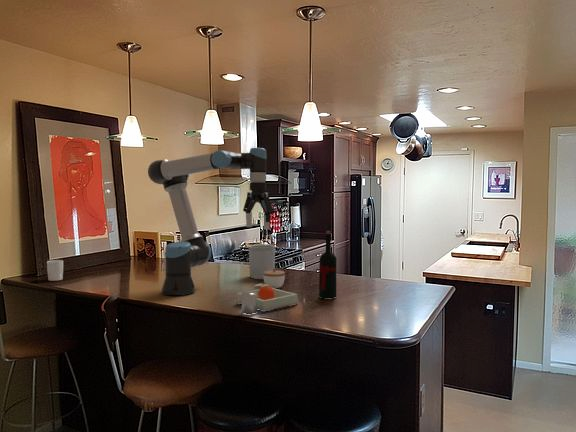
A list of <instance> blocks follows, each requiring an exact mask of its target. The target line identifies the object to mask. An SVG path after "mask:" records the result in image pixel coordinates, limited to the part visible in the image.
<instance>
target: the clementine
mask: <svg viewBox="0 0 576 432" xmlns="http://www.w3.org/2000/svg"><path fill="white" fill-rule="evenodd" d="M274 295H275V293H274V290H273V289H272V288H271V287H270V286H263V287H262V288H261V289H260V290H259V292H258V296H259V298H260V299H262V300H268V299H273V298H274Z"/></svg>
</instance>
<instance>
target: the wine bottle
mask: <svg viewBox="0 0 576 432" xmlns="http://www.w3.org/2000/svg"><path fill="white" fill-rule="evenodd" d="M331 235H332V234H331V230H325V252H323V253H322V254H321V255H320V257H319V265H318V266H319V269H318V270H319V272H318V273H319V276H318V277H319V278H318V281H319V282H318V297H319V296H320V297H322V298H334V297H336V298H337V257H336V255H335V253H333V252H331V250H332V249H331V248H332V247H331V245H332V244H331V241H332V240H331V237H332V236H331Z"/></svg>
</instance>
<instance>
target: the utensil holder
mask: <svg viewBox="0 0 576 432" xmlns="http://www.w3.org/2000/svg"><path fill="white" fill-rule="evenodd" d="M247 248H248V260H249V262H248V263H249V264H248V265H249V266H248V267H249V277H251V278H250V279H252V278H254V279H253V280H264V275H263V272H265V271H270V270H273V269H275V270H276V268H275V267H276V263H275V262H276V256H275V255H276V253H275V252H276V251H275V250H276V245H275V244H271V243H270V244H269V243H265V244H262V243H261V244H250V245H248V247H247Z"/></svg>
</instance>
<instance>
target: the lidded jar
mask: <svg viewBox="0 0 576 432" xmlns="http://www.w3.org/2000/svg"><path fill="white" fill-rule="evenodd" d="M263 275H264V279H263V282H264V284H268V285H269V286H270V287H271V288H279V287H280V288H281V287H282V286H283V285H284V282H285V279H286V277H285V276H286V272H285V271H283V270H277V269H276V268H275V269H273V270H270V271H265V272H263ZM280 288H279V289H280Z"/></svg>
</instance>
